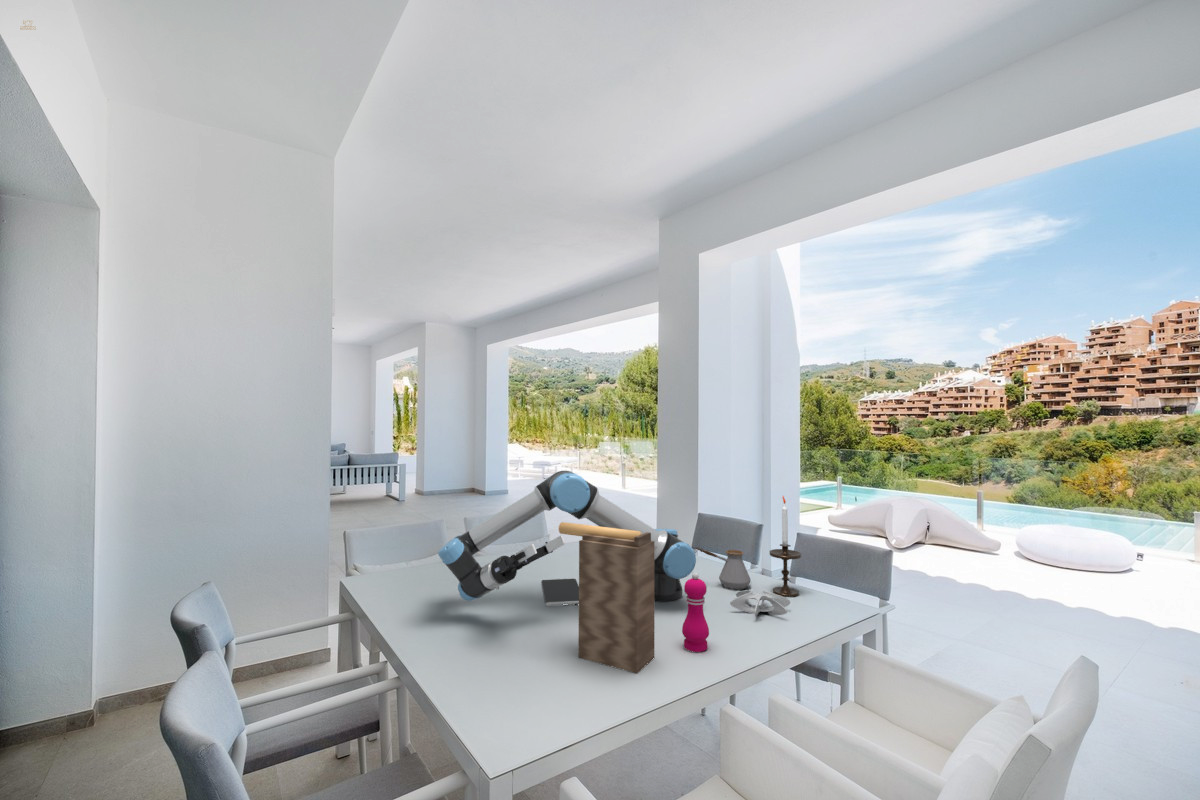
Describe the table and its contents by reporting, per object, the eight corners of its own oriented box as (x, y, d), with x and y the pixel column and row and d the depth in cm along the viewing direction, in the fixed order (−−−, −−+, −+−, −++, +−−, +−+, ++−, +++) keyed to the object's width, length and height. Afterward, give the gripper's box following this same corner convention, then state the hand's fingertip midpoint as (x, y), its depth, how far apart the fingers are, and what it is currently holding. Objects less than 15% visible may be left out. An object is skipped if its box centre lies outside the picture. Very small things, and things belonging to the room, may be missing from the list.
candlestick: (763, 590, 193) (762, 494, 195) (786, 587, 198) (785, 492, 199) (784, 599, 184) (783, 498, 185) (808, 595, 188) (807, 496, 189)
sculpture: (726, 618, 166) (726, 597, 166) (738, 599, 184) (738, 581, 184) (785, 627, 158) (785, 606, 158) (792, 607, 176) (792, 587, 177)
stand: (578, 657, 137) (579, 531, 139) (598, 643, 146) (598, 525, 147) (636, 673, 128) (637, 538, 130) (654, 658, 137) (654, 531, 138)
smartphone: (545, 608, 175) (545, 603, 176) (541, 583, 202) (541, 579, 202) (585, 606, 178) (585, 601, 178) (575, 582, 204) (575, 577, 204)
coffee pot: (743, 581, 205) (742, 542, 205) (756, 590, 193) (755, 549, 194) (689, 583, 201) (689, 543, 202) (699, 593, 190) (699, 551, 191)
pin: (558, 534, 146) (558, 523, 146) (565, 532, 149) (565, 521, 149) (636, 545, 134) (636, 532, 134) (641, 542, 136) (641, 530, 137)
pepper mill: (703, 655, 139) (703, 578, 140) (677, 649, 142) (677, 574, 143) (713, 645, 145) (712, 571, 146) (688, 640, 149) (688, 568, 149)
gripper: (530, 574, 168) (578, 547, 159) (473, 595, 147) (526, 566, 138) (521, 551, 170) (568, 524, 161) (464, 569, 149) (515, 539, 140)
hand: (549, 543), depth 149 cm, fingers open, 13 cm apart
